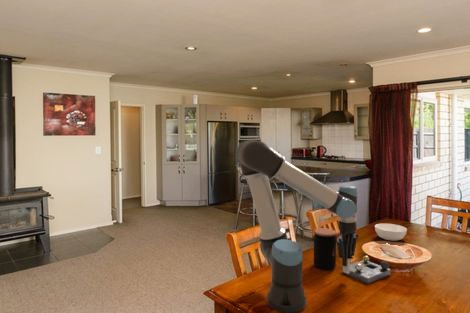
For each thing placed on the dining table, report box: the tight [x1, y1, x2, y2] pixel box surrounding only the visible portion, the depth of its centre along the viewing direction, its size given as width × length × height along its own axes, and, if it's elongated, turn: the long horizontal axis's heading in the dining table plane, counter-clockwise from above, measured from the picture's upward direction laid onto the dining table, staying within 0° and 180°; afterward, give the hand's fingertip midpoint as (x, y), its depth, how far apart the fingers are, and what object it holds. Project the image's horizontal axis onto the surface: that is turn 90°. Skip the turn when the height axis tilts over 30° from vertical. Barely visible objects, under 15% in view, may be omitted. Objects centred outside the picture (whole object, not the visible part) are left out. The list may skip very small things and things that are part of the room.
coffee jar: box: [313, 227, 338, 272], centre depth 161 cm, size 11×11×18 cm
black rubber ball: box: [379, 260, 390, 269], centre depth 153 cm, size 4×4×4 cm
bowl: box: [374, 222, 408, 242], centre depth 205 cm, size 18×18×7 cm
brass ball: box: [362, 255, 370, 262], centre depth 162 cm, size 3×3×3 cm
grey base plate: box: [341, 259, 392, 285], centre depth 154 cm, size 17×14×2 cm
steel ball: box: [355, 264, 363, 271], centre depth 151 cm, size 3×3×3 cm
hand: (346, 272), depth 146 cm, fingers closed
